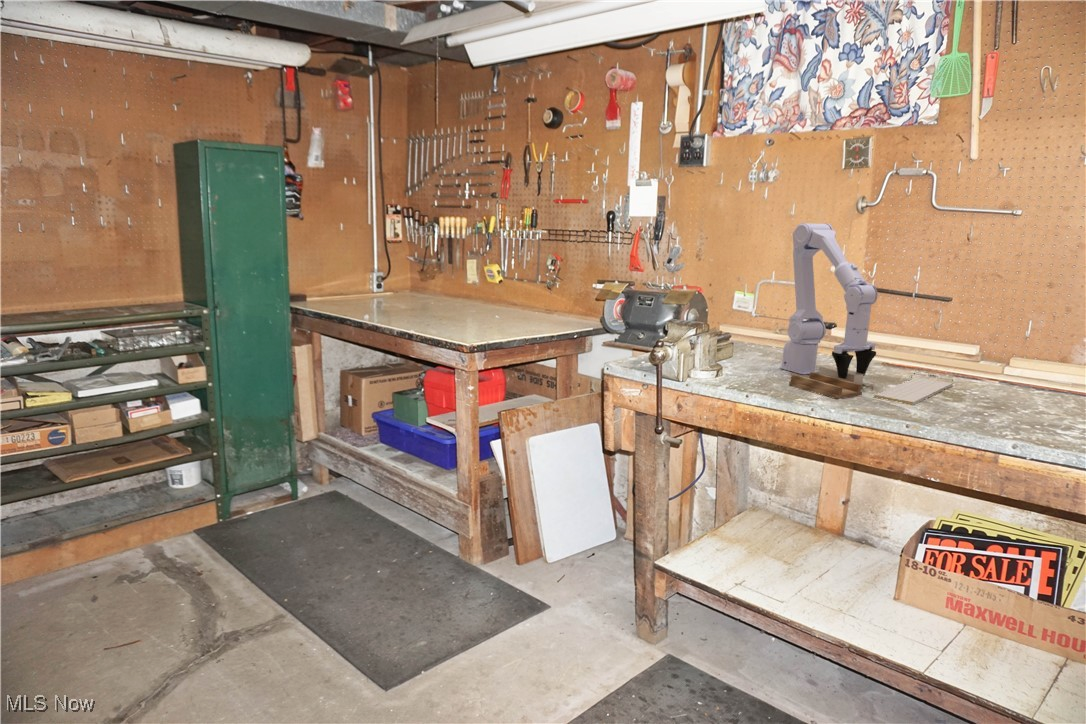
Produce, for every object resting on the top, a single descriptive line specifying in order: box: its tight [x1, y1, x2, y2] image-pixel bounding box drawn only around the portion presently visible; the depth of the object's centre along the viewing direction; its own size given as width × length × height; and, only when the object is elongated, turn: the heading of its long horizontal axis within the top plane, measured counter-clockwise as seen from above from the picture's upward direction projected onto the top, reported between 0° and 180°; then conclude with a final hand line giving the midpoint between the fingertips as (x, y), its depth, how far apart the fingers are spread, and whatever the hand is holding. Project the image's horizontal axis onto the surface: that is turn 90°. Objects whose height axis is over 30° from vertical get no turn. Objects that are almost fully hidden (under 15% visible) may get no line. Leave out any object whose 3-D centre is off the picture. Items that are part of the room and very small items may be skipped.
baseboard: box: [870, 372, 954, 406], centre depth 188 cm, size 31×3×12 cm
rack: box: [788, 372, 863, 399], centre depth 186 cm, size 16×9×3 cm, turn 28°
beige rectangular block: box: [818, 365, 864, 388], centre depth 195 cm, size 12×4×4 cm, turn 27°
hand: (851, 376), depth 191 cm, fingers open, 7 cm apart
